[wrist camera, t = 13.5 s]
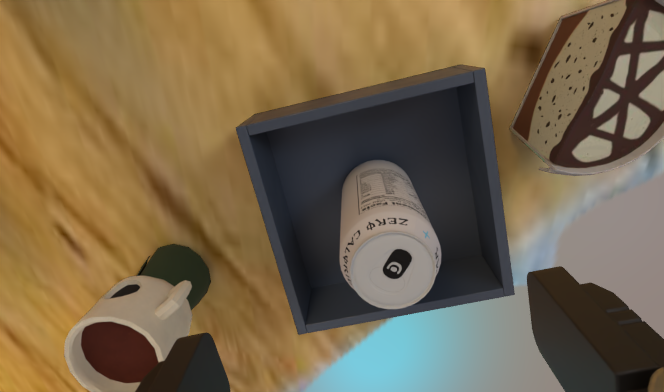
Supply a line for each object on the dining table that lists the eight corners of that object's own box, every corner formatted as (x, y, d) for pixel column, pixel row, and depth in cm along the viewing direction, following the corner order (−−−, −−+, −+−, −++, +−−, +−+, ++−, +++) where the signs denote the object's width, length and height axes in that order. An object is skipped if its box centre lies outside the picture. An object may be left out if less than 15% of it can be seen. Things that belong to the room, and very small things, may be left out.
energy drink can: (329, 204, 40) (320, 290, 26) (362, 144, 38) (372, 202, 24) (389, 234, 41) (411, 334, 26) (424, 177, 39) (468, 252, 25)
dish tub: (305, 292, 44) (298, 335, 37) (254, 114, 39) (235, 127, 32) (489, 256, 42) (514, 294, 35) (461, 64, 37) (485, 68, 30)
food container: (567, 168, 39) (637, 207, 30) (501, 145, 39) (551, 177, 29) (642, 23, 35) (750, 14, 26) (570, -4, 35) (653, -23, 25)
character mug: (192, 210, 42) (126, 279, 29) (246, 264, 43) (205, 351, 31) (115, 278, 44) (24, 368, 32) (169, 327, 46) (102, 431, 33)
